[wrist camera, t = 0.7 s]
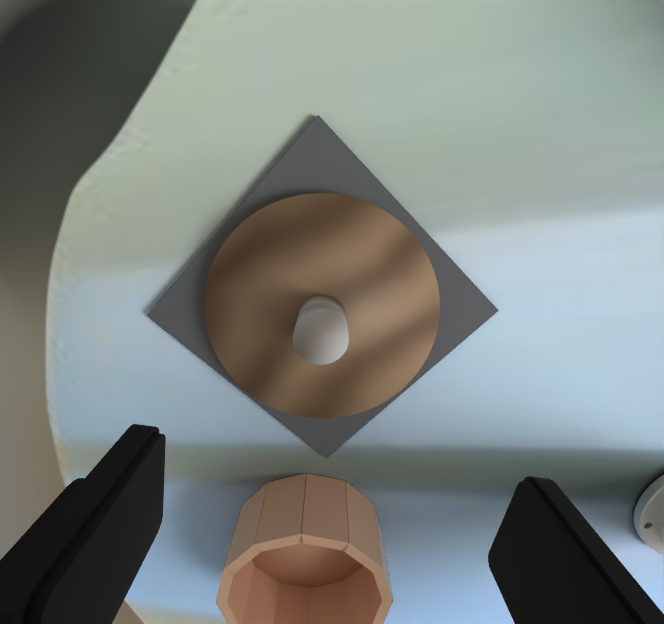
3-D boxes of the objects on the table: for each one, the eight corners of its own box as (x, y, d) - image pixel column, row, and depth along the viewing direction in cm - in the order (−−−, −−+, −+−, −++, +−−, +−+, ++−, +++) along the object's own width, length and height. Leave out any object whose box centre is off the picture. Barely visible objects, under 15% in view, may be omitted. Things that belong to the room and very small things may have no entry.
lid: (482, 310, 30) (519, 336, 24) (325, 447, 34) (324, 497, 28) (318, 135, 26) (315, 115, 20) (162, 315, 30) (122, 342, 24)
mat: (495, 308, 31) (498, 310, 30) (326, 454, 35) (326, 458, 35) (318, 116, 26) (318, 114, 25) (150, 313, 31) (146, 315, 30)
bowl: (409, 531, 38) (425, 599, 32) (312, 602, 42) (308, 678, 35) (305, 449, 35) (299, 506, 28) (209, 534, 38) (183, 603, 32)
